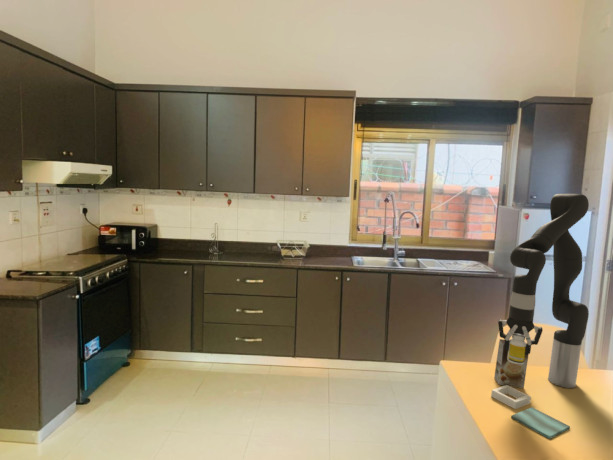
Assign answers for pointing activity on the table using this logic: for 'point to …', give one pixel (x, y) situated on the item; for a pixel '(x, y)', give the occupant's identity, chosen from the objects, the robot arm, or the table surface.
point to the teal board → (540, 422)
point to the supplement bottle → (517, 349)
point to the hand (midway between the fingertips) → (516, 351)
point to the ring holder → (521, 397)
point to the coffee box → (509, 369)
